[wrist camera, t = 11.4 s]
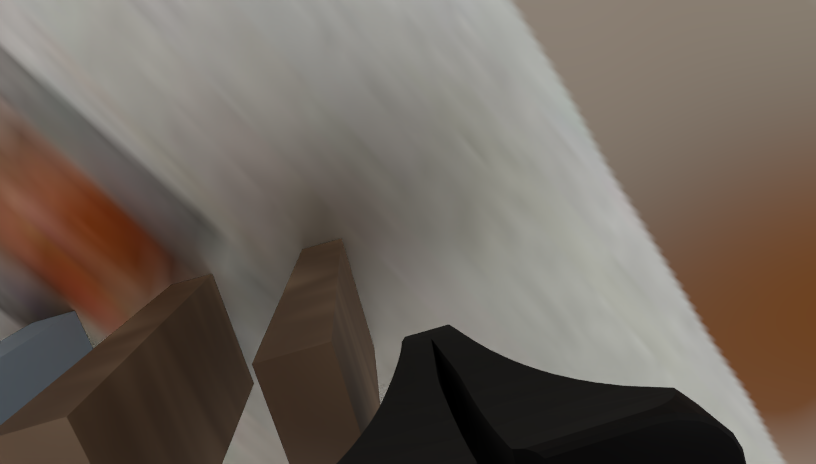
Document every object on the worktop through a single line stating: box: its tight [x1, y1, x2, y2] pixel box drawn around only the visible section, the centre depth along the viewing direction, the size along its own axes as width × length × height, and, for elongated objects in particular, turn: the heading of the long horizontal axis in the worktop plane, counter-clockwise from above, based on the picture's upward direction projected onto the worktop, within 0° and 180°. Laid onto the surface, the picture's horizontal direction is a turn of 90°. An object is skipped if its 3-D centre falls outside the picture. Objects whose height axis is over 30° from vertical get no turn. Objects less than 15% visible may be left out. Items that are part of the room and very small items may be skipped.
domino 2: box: [0, 274, 254, 464], centre depth 13 cm, size 2×5×9 cm, turn 14°
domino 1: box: [252, 239, 380, 464], centre depth 14 cm, size 2×5×9 cm, turn 14°
